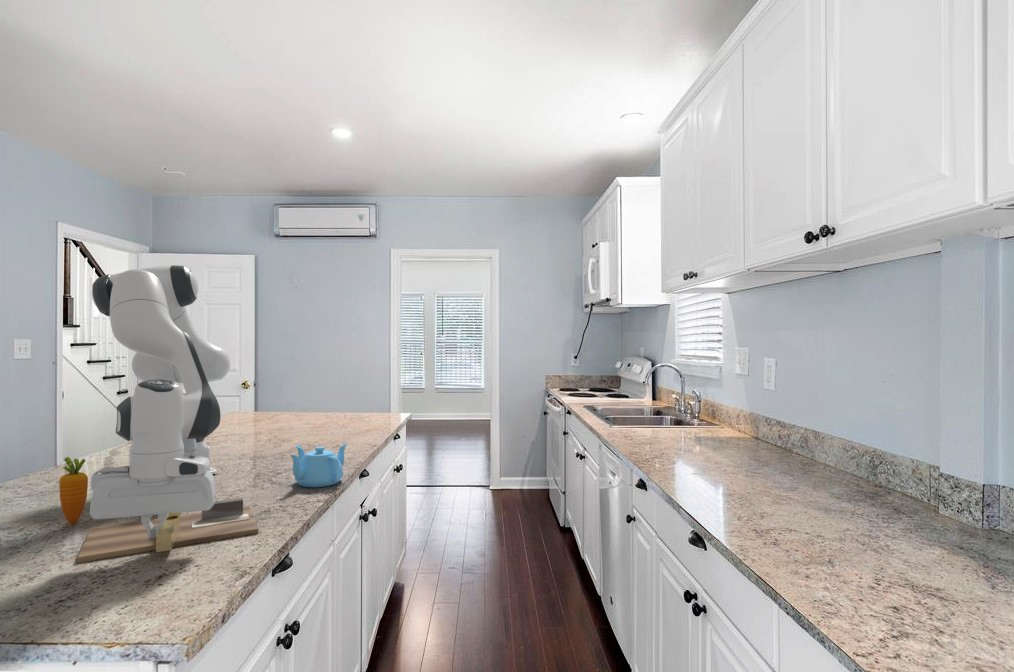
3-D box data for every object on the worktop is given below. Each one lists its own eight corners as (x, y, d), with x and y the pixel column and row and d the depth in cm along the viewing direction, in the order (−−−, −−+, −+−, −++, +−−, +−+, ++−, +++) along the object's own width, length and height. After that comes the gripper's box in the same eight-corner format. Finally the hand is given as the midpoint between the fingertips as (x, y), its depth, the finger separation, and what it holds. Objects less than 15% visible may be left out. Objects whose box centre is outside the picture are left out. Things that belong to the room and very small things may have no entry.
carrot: (93, 523, 118) (94, 455, 118) (68, 531, 113) (69, 460, 113) (77, 520, 120) (78, 453, 120) (52, 528, 115) (53, 458, 115)
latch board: (91, 532, 113) (92, 508, 113) (249, 510, 128) (249, 489, 128) (77, 562, 97) (77, 535, 97) (258, 533, 113) (258, 509, 113)
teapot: (342, 489, 147) (343, 451, 148) (284, 491, 145) (285, 453, 145) (347, 476, 162) (348, 442, 162) (294, 477, 159) (295, 443, 159)
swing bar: (166, 524, 114) (166, 501, 114) (186, 521, 115) (186, 499, 115) (152, 552, 98) (152, 526, 98) (175, 549, 100) (175, 523, 100)
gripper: (85, 472, 97) (82, 549, 96) (213, 465, 104) (211, 536, 104) (97, 464, 102) (94, 537, 102) (218, 458, 110) (215, 526, 110)
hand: (154, 536), depth 103 cm, fingers closed
